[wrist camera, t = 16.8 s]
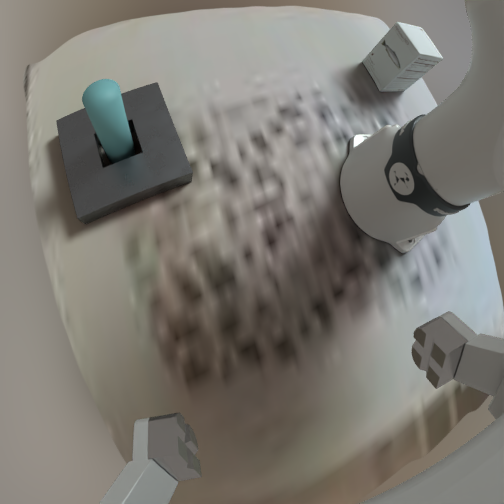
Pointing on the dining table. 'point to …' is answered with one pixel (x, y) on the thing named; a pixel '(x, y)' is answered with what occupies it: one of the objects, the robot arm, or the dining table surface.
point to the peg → (109, 119)
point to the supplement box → (401, 58)
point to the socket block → (128, 170)
